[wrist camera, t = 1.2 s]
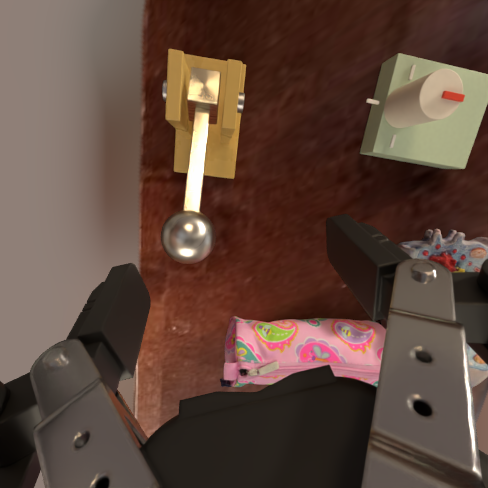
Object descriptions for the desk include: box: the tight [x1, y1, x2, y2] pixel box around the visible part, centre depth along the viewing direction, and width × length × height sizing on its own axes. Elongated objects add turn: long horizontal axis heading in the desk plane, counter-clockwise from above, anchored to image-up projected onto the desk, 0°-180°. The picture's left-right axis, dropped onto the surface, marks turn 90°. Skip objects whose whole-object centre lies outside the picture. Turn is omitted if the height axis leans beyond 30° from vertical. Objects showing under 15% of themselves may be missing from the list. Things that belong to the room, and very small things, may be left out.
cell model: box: [381, 229, 488, 388], centre depth 35 cm, size 13×11×20 cm
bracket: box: [162, 49, 246, 179], centre depth 25 cm, size 12×7×13 cm, turn 173°
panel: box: [360, 53, 488, 169], centre depth 31 cm, size 14×10×3 cm
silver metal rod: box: [161, 67, 221, 264], centre depth 19 cm, size 14×4×4 cm, turn 173°
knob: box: [384, 69, 465, 128], centre depth 27 cm, size 4×4×6 cm
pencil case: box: [220, 316, 386, 387], centre depth 35 cm, size 21×9×9 cm, turn 85°
